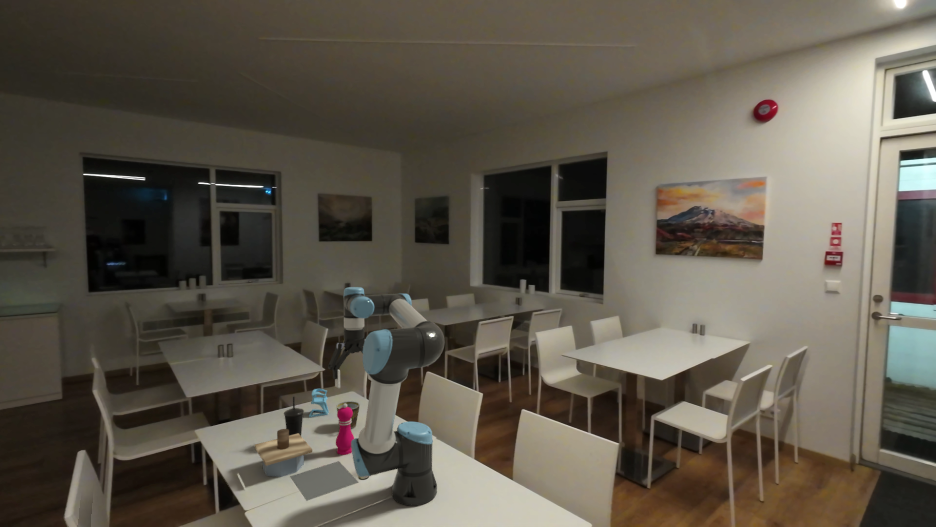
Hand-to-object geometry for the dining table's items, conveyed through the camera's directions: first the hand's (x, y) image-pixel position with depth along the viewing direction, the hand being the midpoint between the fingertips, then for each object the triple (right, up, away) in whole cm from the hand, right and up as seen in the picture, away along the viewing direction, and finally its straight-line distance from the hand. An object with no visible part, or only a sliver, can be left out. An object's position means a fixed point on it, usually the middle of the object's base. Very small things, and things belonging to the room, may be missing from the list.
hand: (354, 383), depth 171 cm
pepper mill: (-6, -30, +8) cm, 31 cm away
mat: (-8, -31, -13) cm, 34 cm away
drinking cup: (-28, -29, +14) cm, 43 cm away
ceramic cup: (-10, -28, +30) cm, 42 cm away
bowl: (-25, -30, -5) cm, 40 cm away
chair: (-28, -27, +45) cm, 59 cm away
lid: (-25, -23, -5) cm, 35 cm away
